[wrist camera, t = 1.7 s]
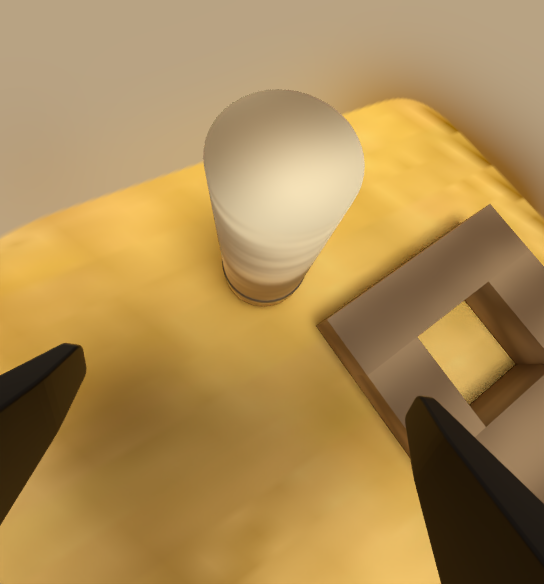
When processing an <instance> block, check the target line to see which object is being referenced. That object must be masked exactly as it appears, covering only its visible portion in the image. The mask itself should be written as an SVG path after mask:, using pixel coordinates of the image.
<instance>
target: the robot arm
mask: <svg viewBox="0 0 544 584" xmlns="http://www.w3.org/2000/svg"><path fill="white" fill-rule="evenodd" d="M85 374H86V363H85V357H84V352H83V348H82V347H81V346H80V345H77V344H70V343H63V344H61V345H59V346H57V347H55V348H53V349H51V350H49V351H47V352H45V353H43V354H41V355H39V356H37V357H35V358H33V359H31V360H29V361H27V362H25V363H24V364H22V365H20V366H18V367H16V368H14V369H12V370H10V371H8V372H6V373H4V374H2V375H0V525H1V523H2V522H3V520H4V519H5V517H6V515H7V514H8V512H9V510H10V509H11V507H12V506H13V504H14V502H15V501H16V499H17V497H18V496H19V494H20V493H21V491H22V489H23V488H24V486H25V485H26V483H27V481H28V480H29V478H30V476H31V475H32V473H33V472H34V470H35V468H36V467H37V465H38V463H39V462H40V460H41V459H42V457H43V455H44V454H45V452H46V450H47V449H48V447H49V446H50V444H51V442H52V441H53V439H54V437H55V436H56V434H57V432H58V430H59V429H60V427H61V425H62V423H63V421H64V419H65V417H66V414H67V412H68V410H69V408H70V406H71V404H72V402H73V400H74V398H75V396H76V394H77V392H78V390H79V387H80V385H81V383H82V381H83V379H84V377H85ZM405 426H406V432H407V439H408V445H409V452H410V458H411V465H412V471H413V476H414V481H415V485H416V489H417V493H418V497H419V501H420V505H421V508H422V512H423V516H424V520H425V524H426V528H427V531H428V535H429V539H430V543H431V547H432V551H433V554H434V558H435V562H436V566H437V570H438V574H439V577H440V581H441V584H544V503H543V502H542V501H541V500H540V499H539V498H538V497H537V496H535V495H534V494H533V493H532V492H531V491H530V490H529V489H528V488H527V487H526V486H525V485H524V484H523V483H522V482H521V481H520V480H519V479H518V478H517V477H516V476H515V475H514V474H513V473H512V472H511V471H510V470H508V469H507V468H506V467H505V466H504V465H503V464H502V463H501V462H500V461H499V460H498V459H497V458H496V457H495V456H494V455H493V454H492V453H491V452H490V451H489V450H488V449H487V448H486V447H485V446H484V445H483V444H481V443H480V442H479V441H478V440H477V439H476V438H475V437H474V436H473V435H472V434H471V433H470V432H469V431H468V430H467V429H466V428H465V427H464V426H463V425H462V424H461V423H460V422H459V421H458V420H457V419H456V418H454V417H453V416H452V415H451V414H450V413H449V412H448V411H447V410H446V409H445V408H444V407H443V406H442V405H441V404H440V403H439V402H438V401H437V400H436V399H434V398H432V397H428V396H421V395H420V396H417V397H416V398H415V399H414V401H413V403H412V405H411V406H410V408H409V410H408V411H407V413H406V416H405Z"/></svg>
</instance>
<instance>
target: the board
mask: <svg viewBox="0 0 544 584" xmlns="http://www.w3.org/2000/svg"><path fill="white" fill-rule="evenodd" d="M464 300H465V301H466V302H467V304H468V305H469V306H470V307H471V309H472V310H473V311H474V312H475V314H476V315H477V316H478V317H479V318H480V320H481V321H482V322H483V323H484V325H485V326H486V327H487V328H488V330H489V331H490V332H491V333H492V335H493V336H494V337H495V338H496V340H497V341H498V342H499V343H500V345H501V346H502V347H503V348H504V350H505V351H506V352H507V353H508V355H509V356H510V357H511V358H512V360H513V361H514V362H515V363H516V365H515V366H514V367H513V368H512V369H510V370H509V371H508V372H507V373H506V374H505V375H504V376H502V377H501V378H500V379H499V380H498V381H497V382H496V383H494V384H493V385H492V386H491V387H490V388H489V389H487V390H486V391H485V392H484V393H483V394H482V395H481V396H479V397H478V398H477V399H476V400H475V401H474V402H473V403H471V404H470V405H469V404H468V403H467V402H466V400H465V399H464V398H463V396H462V395H461V394H460V393H459V391H458V390H457V389H456V387H455V386H454V385H453V383H452V382H451V381H450V379H449V378H448V377H447V375H446V374H445V373H444V372H443V370H442V369H441V368H440V366H439V365H438V364H437V362H436V361H435V360H434V358H433V357H432V356H431V354H430V353H429V352H428V351H427V349H426V348H425V347H424V345H423V344H422V343H421V341H420V340H419V339H418V336H419V335H420V334H422V333H423V332H424V331H425V330H427V329H428V328H429V327H431V326H432V325H433V324H434V323H436V322H437V321H438V320H440V319H441V318H442V317H443V316H445V315H446V314H447V313H449V312H450V311H451V310H452V309H454V308H455V307H456V306H458V305H459V304H460V303H461V302H463V301H464ZM316 327H317V328H318V329H319V331H320V332H321V334H322V335H323V336H324V338H325V339H326V341H327V342H328V343H329V345H330V346H331V348H332V349H333V350H334V352H335V353H336V355H337V356H338V358H339V359H340V360H341V362H342V363H343V365H344V366H345V367H346V369H347V370H348V372H349V373H350V374H351V376H352V377H353V379H354V380H355V381H356V383H357V384H358V386H359V387H360V388H361V390H362V391H363V393H364V394H365V395H366V397H367V398H368V400H369V401H370V402H371V404H372V405H373V407H374V408H375V409H376V411H377V412H378V414H379V415H380V416H381V418H382V419H383V421H384V422H385V423H386V425H387V426H388V428H389V429H390V430H391V432H392V433H393V435H394V436H395V437H396V439H397V440H398V442H399V443H400V444H401V446H402V447H403V449H404V450H405V451H406V453H407V454H408V456H409V457H410V452H409V445H408V439H407V432H406V426H405V416H406V413H407V411H408V410H409V408H410V406H411V405H412V403H413V401H414V399H415V398H416V397H417V396H420V395H421V396H428V397H432V398H434V399H436V400H437V401H438V402H439V403H440V404H441V405H442V406H443V407H444V408H445V409H446V410H447V411H448V412H449V413H450V414H451V415H452V416H453V417H454V418H456V419H457V420H458V421H459V422H460V423H461V424H462V425H463V426H464V427H465V428H466V429H467V430H468V431H469V432H470V433H471V434H472V435H473V436H474V437H475V438H476V439H477V440H478V441H479V442H480V443H481V444H483V445H484V446H485V447H486V448H487V449H488V450H489V451H490V452H491V453H492V454H493V455H494V456H495V457H496V458H497V459H498V460H499V461H500V462H501V463H502V464H503V465H504V466H505V467H506V468H507V469H508V470H510V471H511V472H512V473H513V474H514V475H515V476H516V477H517V478H518V479H519V480H520V481H521V482H522V483H523V484H524V485H525V486H526V487H527V488H528V489H529V490H530V491H531V492H532V493H533V494H534V495H535V496H537V497H538V498H539V499H540V500H541V501H542V502H543V503H544V266H543V265H542V264H541V263H540V262H539V260H538V259H537V258H536V257H535V256H534V255H533V253H532V252H531V251H530V250H529V249H528V248H527V246H526V245H525V244H524V243H523V242H522V241H521V239H520V238H519V237H518V236H517V235H516V234H515V233H514V231H513V230H512V229H511V228H510V227H509V226H508V224H507V223H506V222H505V221H504V220H503V219H502V217H501V216H500V215H499V214H498V213H497V212H496V210H495V209H494V208H493V207H492V206H491V205H490V204H489V205H488V206H486V207H485V208H483V209H482V210H480V211H479V212H477V213H476V214H474V215H473V216H471V217H470V218H468V219H467V220H465V221H464V222H462V223H461V224H459V225H458V226H457V227H455V228H454V229H452V230H451V231H449V232H448V233H447V234H445V235H444V236H442V237H441V238H440V239H438V240H437V241H435V242H434V243H433V244H431V245H430V246H428V247H427V248H426V249H424V250H423V251H421V252H420V253H418V254H417V255H416V256H414V257H413V258H411V259H410V260H409V261H407V262H406V263H404V264H403V265H402V266H400V267H399V268H397V269H396V270H394V271H393V272H392V273H390V274H389V275H387V276H386V277H385V278H383V279H382V280H380V281H379V282H378V283H376V284H375V285H373V286H372V287H370V288H369V289H368V290H366V291H365V292H363V293H362V294H361V295H359V296H358V297H356V298H355V299H354V300H352V301H351V302H349V303H348V304H346V305H345V306H344V307H342V308H341V309H339V310H338V311H337V312H335V313H334V314H332V315H331V316H330V317H328V318H327V319H325V320H324V321H322V322H321V323H320V324H318V325H317V326H316Z"/></svg>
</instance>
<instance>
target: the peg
mask: <svg viewBox="0 0 544 584" xmlns="http://www.w3.org/2000/svg"><path fill="white" fill-rule="evenodd" d="M203 159H204V168H205V173H206V178H207V184H208V189H209V194H210V199H211V204H212V209H213V214H214V219H215V225H216V230H217V235H218V240H219V245H220V250H221V255H222V265H223V271H224V274H225V277H226V280H227V282H228V285H229V286H230V288H231V290H232V291H233V292H234V293H235V294H236V295H237V296H238V297H239V298H240V299H242V300H244V301H245V302H247V303H250V304H253V305H257V306H271V305H275V304H278V303H280V302H282V301H284V300H286V299H287V298H288V297H290V296H291V295H292V294H293V292H294V291H295V290H296V289H297V288H298V287H299V285H300V284H301V282H302V281H303V279H304V276H305V275H306V273H307V272H308V270H309V268H310V267H311V265H312V264H313V262H314V261H315V259H316V258H317V256H318V255H319V253H320V252H321V250H322V249H323V247H324V246H325V244H326V242H327V241H328V239H329V238H330V236H331V235H332V233H333V232H334V230H335V229H336V227H337V226H338V224H339V223H340V221H341V220H342V218H343V217H344V215H345V213H346V212H347V210H348V209H349V207H350V206H351V204H352V203H353V201H354V200H355V198H356V196H357V194H358V192H359V190H360V187H361V185H362V181H363V176H364V155H363V151H362V146H361V144H360V141H359V139H358V137H357V135H356V133H355V131H354V129H353V128H352V126H351V125H350V124H349V122H348V121H347V120H346V119H345V118H344V117H343V116H342V115H341V114H340V113H339V112H338V111H337V110H335V109H334V108H333V107H332V106H330V105H329V104H327V103H325V102H324V101H322V100H320V99H318V98H316V97H313V96H311V95H308V94H305V93H301V92H297V91H291V90H279V89H278V90H266V91H260V92H256V93H253V94H249V95H247V96H245V97H242V98H240V99H239V100H237V101H235V102H233V103H232V104H230V105H229V106H228V107H227V108H225V109H224V110H223V112H221V113H220V115H218V117H217V118H216V119H215V121H214V122H213V124H212V126H211V128H210V129H209V131H208V134H207V137H206V140H205V145H204V156H203Z"/></svg>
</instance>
